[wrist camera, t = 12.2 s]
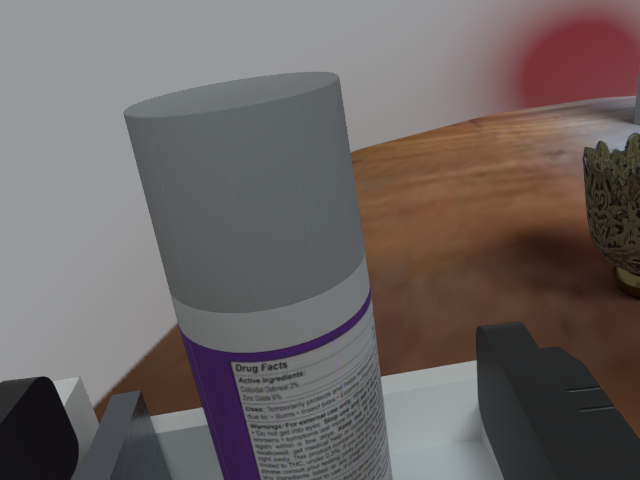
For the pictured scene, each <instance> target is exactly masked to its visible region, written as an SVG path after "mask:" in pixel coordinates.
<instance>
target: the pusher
mask: <svg viewBox="0 0 640 480" xmlns="http://www.w3.org/2000/svg"><path fill="white" fill-rule="evenodd" d="M76 480H172V478H171V475H170V473H169V470H168V467H167V464H166V461H165V458H164V455H163V452H162V450H161V447H160V444H159V441H158V438H157V435H156V432H155V429H154V427H153V424H152V421H151V418H150V415H149V412H148V409H147V406H146V404H145V401H144V398H143V395H142V392H141V390H139V391H133V392H127V393H122V394H116V395H112V396H111V398H110V401H109V403H108V405H107V408H106V410H105V413H104V415H103V417H102V420H101V422H100V424H99V427H98V429H97V432H96V434H95V436H94V439H93V441H92V444H91V446H90V448H89V451H88V453H87V455H86V458H85V460H84V463H83V465H82V467H81V470H80V472H79V474H78V477H77V479H76Z"/></svg>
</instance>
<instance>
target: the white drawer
mask: <svg viewBox="0 0 640 480" xmlns="http://www.w3.org/2000/svg"><path fill="white" fill-rule="evenodd" d="M52 382H53V383H54V385H55V387H56V389H57V392H58V394H59V396H60V399H61V401H62V403H63V406H64V408H65V410H66V413H67V415H68V417H69V420H70V422H71V424H72V427H73V429H74V431H75V434H76V436H77V439H78V444H79V457H78V463H77V467H76V470H75V472H74V474H73V476H72V478H71V480H76V479H77V477H78V474H79V472H80V470H81V467H82V465H83V463H84V460H85V458H86V455H87V453H88V451H89V448H90V446H91V444H92V441H93V439H94V436H95V434H96V432H97V429H98V427H99V422H98V420H97V417H96V415H95V412H94V410H93V408H92V405H91V403H90V400H89V398H88V395H87V393H86V390H85V388H84V385H83V383H82V380H81V378H80V377H73V378H68V379H62V380H56V381H52ZM381 383H382V392H383V400H384V409H385V417H386V426H387V435H388V443H389V452H390V460H391V469H392V478H393V480H504V478H503V475H502V473H501V470H500V468H499V465H498V463H497V460H496V457H495V455H494V452H493V450H492V447H491V445H490V442H489V439H488V437H487V434H486V432H485V429H484V426H483V422H482V419H481V414H480V409H479V403H478V391H477V360H475V361H469V362H464V363H458V364H452V365H446V366H440V367H435V368H429V369H423V370H417V371H411V372H405V373H400V374H394V375H388V376H382V377H381ZM150 418H151V421H152V424H153V427H154V429H155V432H156V435H157V438H158V441H159V444H160V447H161V450H162V452H163V455H164V458H165V461H166V464H167V467H168V470H169V473H170V475H171V478H172V480H224V478H223V474H222V471H221V468H220V464H219V461H218V458H217V454H216V451H215V447H214V444H213V441H212V437H211V434H210V430H209V427H208V424H207V420H206V417H205V414H204V410H203V407H202V408H196V409H191V410H185V411H179V412H173V413H167V414H162V415H156V416H150Z"/></svg>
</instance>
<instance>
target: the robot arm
mask: <svg viewBox="0 0 640 480" xmlns="http://www.w3.org/2000/svg"><path fill="white" fill-rule="evenodd" d="M476 353H477V391H478V403H479V409H480V414H481V419H482V422H483V426H484V429H485V432H486V434H487V437H488V439H489V442H490V445H491V447H492V450H493V452H494V455H495V457H496V460H497V463H498V465H499V468H500V470H501V473H502V475H503V478H504V480H640V439H639V438H638V437H637V435H636V434H635V433H634V431H633V430H632V429H631V427H630V426H629V425H628V423H627V422H626V420H625V419H624V418H623V416H622V415H621V414H620V412H619V411H618V410H615V408H614V404H613V403H612V402H611V400H610V399H609V398H608V396H607V395H606V393H605V392H604V391H603V390H602V391H601V389H600V385H599V384H598V383H597V381H596V380H595V379H594V377H593V376H592V375H591V373H590V372H589V371H588V369H587V368H586V367H585V365H584V364H583V363H582V362H580V361H579V360H577V359H576V358H574V357H573V356H571V355H570V354H568V353H566V352H565V351H563V350H562V349H560V348H559V347H548V348H539V347H538V346H537V344H536V343H535V341H534V340H533V338H532V336H531V335H530V333H529V332H528V330H527V329H526V327H525V326H524V324H523V323H522V322H512V323H504V324H495V325H487V326H478V328H477V331H476ZM78 457H79V444H78V439H77V436H76V434H75V431H74V429H73V427H72V424H71V422H70V420H69V417H68V415H67V413H66V410H65V408H64V406H63V403H62V401H61V399H60V396H59V394H58V392H57V389H56V387H55V385H54V383H53V382H52V381H51V380H50V379H49V378H47V377H44V376H43V377H34V378H26V379H18V380H9V381H3V382H1V383H0V480H71V478H72V476H73V474H74V472H75V470H76V467H77V463H78Z"/></svg>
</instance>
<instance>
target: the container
mask: <svg viewBox="0 0 640 480" xmlns="http://www.w3.org/2000/svg"><path fill="white" fill-rule="evenodd" d="M124 117H125V120H126V124H127V128H128V132H129V136H130V140H131V143H132V147H133V151H134V155H135V159H136V163H137V167H138V170H139V174H140V178H141V182H142V186H143V190H144V193H145V197H146V201H147V205H148V209H149V213H150V216H151V220H152V224H153V228H154V232H155V235H156V239H157V243H158V247H159V251H160V255H161V258H162V262H163V266H164V270H165V274H166V278H167V282H168V285H169V289H170V293H171V297H172V301H173V305H174V309H175V313H176V317H177V321H178V326H179V329H180V332H181V336H182V339H183V343H184V346H185V349H186V353H187V356H188V359H189V363H190V366H191V370H192V373H193V376H194V380H195V383H196V387H197V390H198V393H199V397H200V400H201V403H202V407H203V410H204V414H205V417H206V420H207V424H208V427H209V430H210V434H211V437H212V441H213V444H214V447H215V451H216V454H217V458H218V461H219V464H220V468H221V471H222V474H223V478H224V480H393V478H392V469H391V460H390V452H389V443H388V435H387V426H386V417H385V409H384V400H383V392H382V383H381V374H380V366H379V357H378V348H377V340H376V331H375V323H374V314H373V305H372V297H371V288H370V282H369V276H368V270H367V263H366V256H365V250H364V242H363V236H362V229H361V222H360V215H359V208H358V202H357V195H356V188H355V181H354V175H353V168H352V161H351V154H350V149H349V148H350V147H349V141H348V134H347V127H346V121H345V114H344V107H343V100H342V94H341V86H340V80H339V76H338V75H337V74H334V73H329V72H301V73H287V74H278V75H269V76H261V77H254V78H247V79H240V80H234V81H228V82H223V83H216V84H212V85H207V86H201V87H196V88H191V89H187V90H182V91H178V92H174V93H170V94H166V95H162V96H159V97H155V98H151V99H148V100H145V101H142V102H139V103H137V104H134V105H132V106H130V107H128V108H127V109H126V110H125V111H124Z"/></svg>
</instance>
